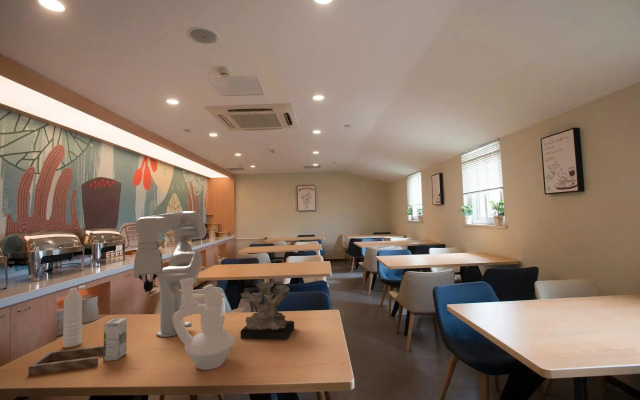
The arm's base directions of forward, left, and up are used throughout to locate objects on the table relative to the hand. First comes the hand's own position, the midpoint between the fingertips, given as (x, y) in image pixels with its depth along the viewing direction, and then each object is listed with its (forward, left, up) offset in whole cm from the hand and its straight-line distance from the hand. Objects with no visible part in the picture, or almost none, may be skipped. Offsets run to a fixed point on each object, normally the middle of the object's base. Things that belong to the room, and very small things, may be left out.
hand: (148, 291), depth 125 cm
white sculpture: (-24, +18, -25) cm, 39 cm away
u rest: (+26, 0, -25) cm, 36 cm away
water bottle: (+36, -22, -25) cm, 49 cm away
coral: (-49, -8, -25) cm, 56 cm away
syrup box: (+12, 0, -25) cm, 28 cm away
